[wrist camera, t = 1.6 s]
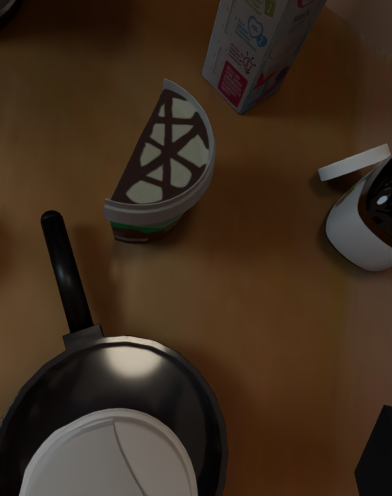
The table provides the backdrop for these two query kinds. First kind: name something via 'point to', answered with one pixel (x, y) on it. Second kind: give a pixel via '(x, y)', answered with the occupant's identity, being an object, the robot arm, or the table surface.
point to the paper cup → (111, 459)
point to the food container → (164, 169)
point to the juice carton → (256, 46)
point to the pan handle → (68, 282)
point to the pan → (116, 404)
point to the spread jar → (363, 211)
